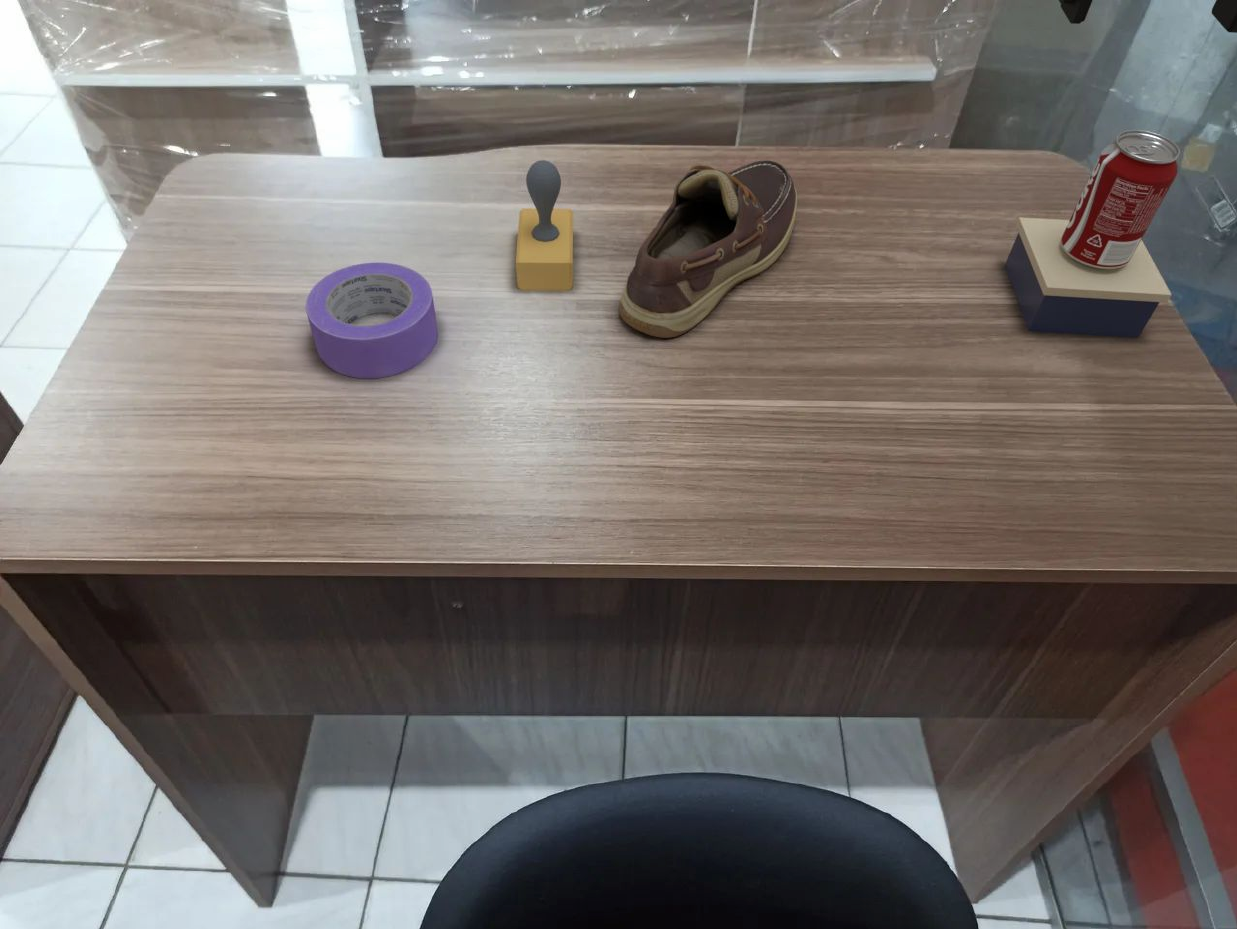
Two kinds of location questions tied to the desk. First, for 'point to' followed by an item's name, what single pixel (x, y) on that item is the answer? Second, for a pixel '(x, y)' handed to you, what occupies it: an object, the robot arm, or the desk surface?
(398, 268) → the tape roll
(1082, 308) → the navy box with lid
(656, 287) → the boat shoe
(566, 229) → the rubber stamp
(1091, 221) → the soda can
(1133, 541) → the desk surface
